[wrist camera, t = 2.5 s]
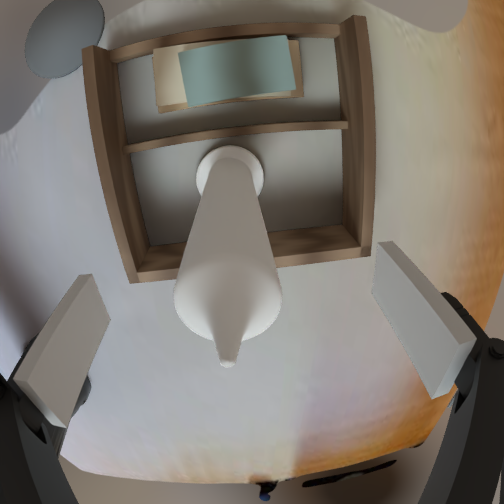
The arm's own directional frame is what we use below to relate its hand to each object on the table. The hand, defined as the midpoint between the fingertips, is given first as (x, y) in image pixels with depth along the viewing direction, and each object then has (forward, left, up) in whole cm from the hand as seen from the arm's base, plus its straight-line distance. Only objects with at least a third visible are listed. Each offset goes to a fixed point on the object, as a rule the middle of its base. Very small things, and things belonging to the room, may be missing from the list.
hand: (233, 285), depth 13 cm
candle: (0, 0, -21) cm, 21 cm away
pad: (-17, +21, -21) cm, 34 cm away
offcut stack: (+1, +11, -21) cm, 23 cm away
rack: (+1, +4, -21) cm, 21 cm away
